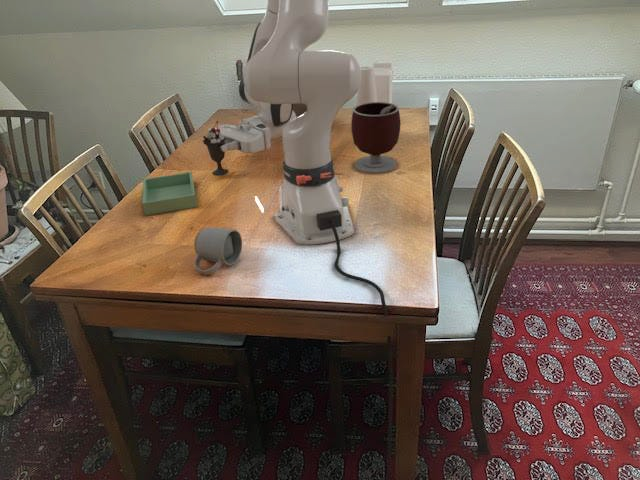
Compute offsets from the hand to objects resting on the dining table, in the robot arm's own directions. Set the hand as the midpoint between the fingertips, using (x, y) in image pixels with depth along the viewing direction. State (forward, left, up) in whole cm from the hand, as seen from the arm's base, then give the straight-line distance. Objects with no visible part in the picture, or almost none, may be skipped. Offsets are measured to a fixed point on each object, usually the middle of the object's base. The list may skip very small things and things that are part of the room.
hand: (213, 146), depth 150 cm
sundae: (0, -1, -9) cm, 9 cm away
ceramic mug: (-47, +5, -10) cm, 49 cm away
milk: (+22, -60, -10) cm, 64 cm away
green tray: (-9, +14, -10) cm, 20 cm away
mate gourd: (-10, -46, -10) cm, 48 cm away
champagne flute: (+10, -50, -10) cm, 52 cm away
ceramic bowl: (+41, -38, -10) cm, 56 cm away
